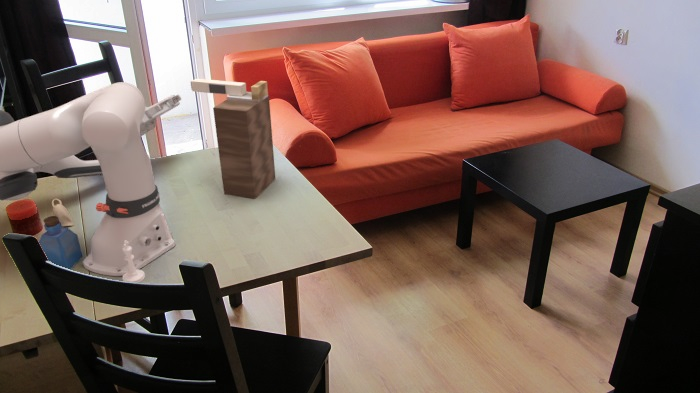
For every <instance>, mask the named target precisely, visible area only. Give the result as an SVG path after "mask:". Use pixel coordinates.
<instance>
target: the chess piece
mask: <svg viewBox="0 0 700 393" xmlns="http://www.w3.org/2000/svg"><path fill="white" fill-rule="evenodd" d="M124 243H125V244H124V245H123V246H124V248H123V252H124V253H125V255H126V256H125V257H124V259H125V260H127V261H128V272H127V273H125V274H124V275H123V276H122V282H123V281H130V282H137V283H139V282H141V281H143V280H144V279H145V277H146V274H145V272H144V270H141V269H136V268H135V266H134V263H133V260H132V259H134V255H132V254H131V253H132V247H131V246H128V244H129V241H127V240H125V241H124Z"/></svg>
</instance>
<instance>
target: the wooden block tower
mask: <svg viewBox="0 0 700 393" xmlns="http://www.w3.org/2000/svg"><path fill="white" fill-rule="evenodd" d="M270 104H271V103H270V96H269V90H268V81H265V80H260V81H258V82H256V83H255V84H253V85H252V86H250V91H247V93H246V94H244V95H243V96H235V95H226V100H224V101H222V102H221V103H218V104H217V105H215V106H214V107H212V108H213V110H212V111H213V117H214V126H215V133H216V140H217V147H218V148H217V149H218V157H219V163H220V165H219V166H220V172H221V173H220V174H221V179H222V180H221V182H222V188H223V195H227V196H233V197H241V198H246V199H252V200H256V199H257V198H258V196H259V195H261V194H262V193H263V191H265V190H266V189H267V188H268V187H269V186H270V185H271V184H272V183H273V181H275V180H276V169H275V168H276V166H275V157H274V156H275V152H274V145H273V143H274V142H273V130H272V117H271V105H270Z"/></svg>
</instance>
